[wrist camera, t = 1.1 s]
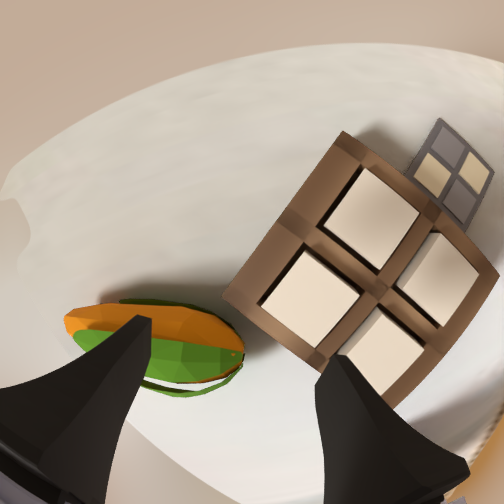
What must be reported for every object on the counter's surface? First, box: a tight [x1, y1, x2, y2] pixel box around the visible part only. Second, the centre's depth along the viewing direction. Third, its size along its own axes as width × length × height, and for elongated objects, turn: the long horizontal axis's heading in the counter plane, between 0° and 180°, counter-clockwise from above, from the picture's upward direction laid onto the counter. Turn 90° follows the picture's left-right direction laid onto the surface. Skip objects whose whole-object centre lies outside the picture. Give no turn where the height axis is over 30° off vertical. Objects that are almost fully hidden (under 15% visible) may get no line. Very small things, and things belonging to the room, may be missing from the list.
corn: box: [64, 299, 245, 397], centre depth 21 cm, size 7×8×20 cm
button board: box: [221, 131, 500, 409], centre depth 18 cm, size 16×14×4 cm
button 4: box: [324, 168, 419, 270], centre depth 16 cm, size 4×4×2 cm
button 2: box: [394, 233, 479, 327], centre depth 15 cm, size 4×4×2 cm
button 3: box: [261, 250, 360, 348], centre depth 18 cm, size 4×4×2 cm
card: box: [404, 118, 494, 233], centre depth 17 cm, size 7×7×1 cm
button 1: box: [336, 306, 424, 395], centre depth 17 cm, size 4×4×2 cm
